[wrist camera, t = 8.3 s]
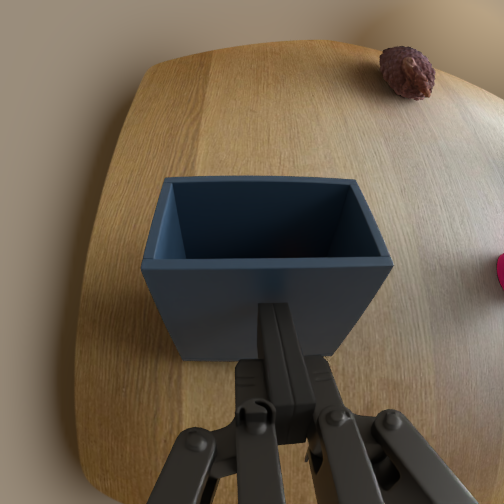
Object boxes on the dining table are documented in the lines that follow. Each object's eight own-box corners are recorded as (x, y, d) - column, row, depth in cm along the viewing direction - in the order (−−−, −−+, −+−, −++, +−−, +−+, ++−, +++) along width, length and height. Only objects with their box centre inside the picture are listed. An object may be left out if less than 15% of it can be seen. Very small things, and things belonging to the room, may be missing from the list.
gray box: (332, 355, 22) (394, 265, 13) (182, 360, 22) (139, 269, 13) (319, 285, 27) (355, 179, 18) (188, 287, 26) (164, 177, 17)
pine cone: (354, 58, 45) (384, 26, 38) (387, 87, 49) (415, 58, 43) (392, 88, 34) (433, 47, 27) (428, 126, 38) (464, 90, 32)
